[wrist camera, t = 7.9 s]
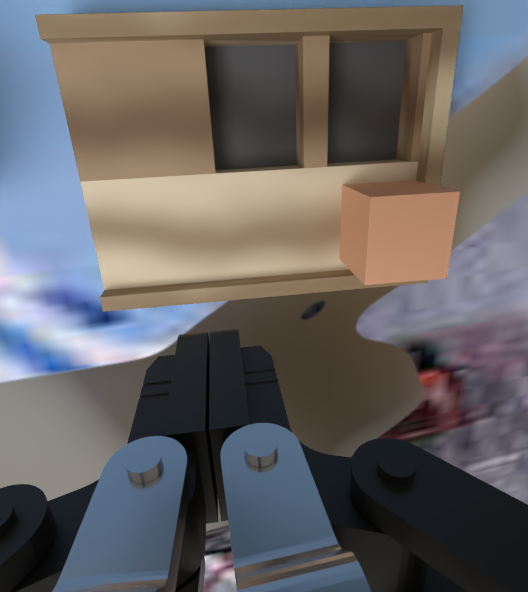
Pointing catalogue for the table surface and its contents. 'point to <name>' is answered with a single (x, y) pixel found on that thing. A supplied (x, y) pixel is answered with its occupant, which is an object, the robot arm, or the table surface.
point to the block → (397, 230)
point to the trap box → (245, 139)
